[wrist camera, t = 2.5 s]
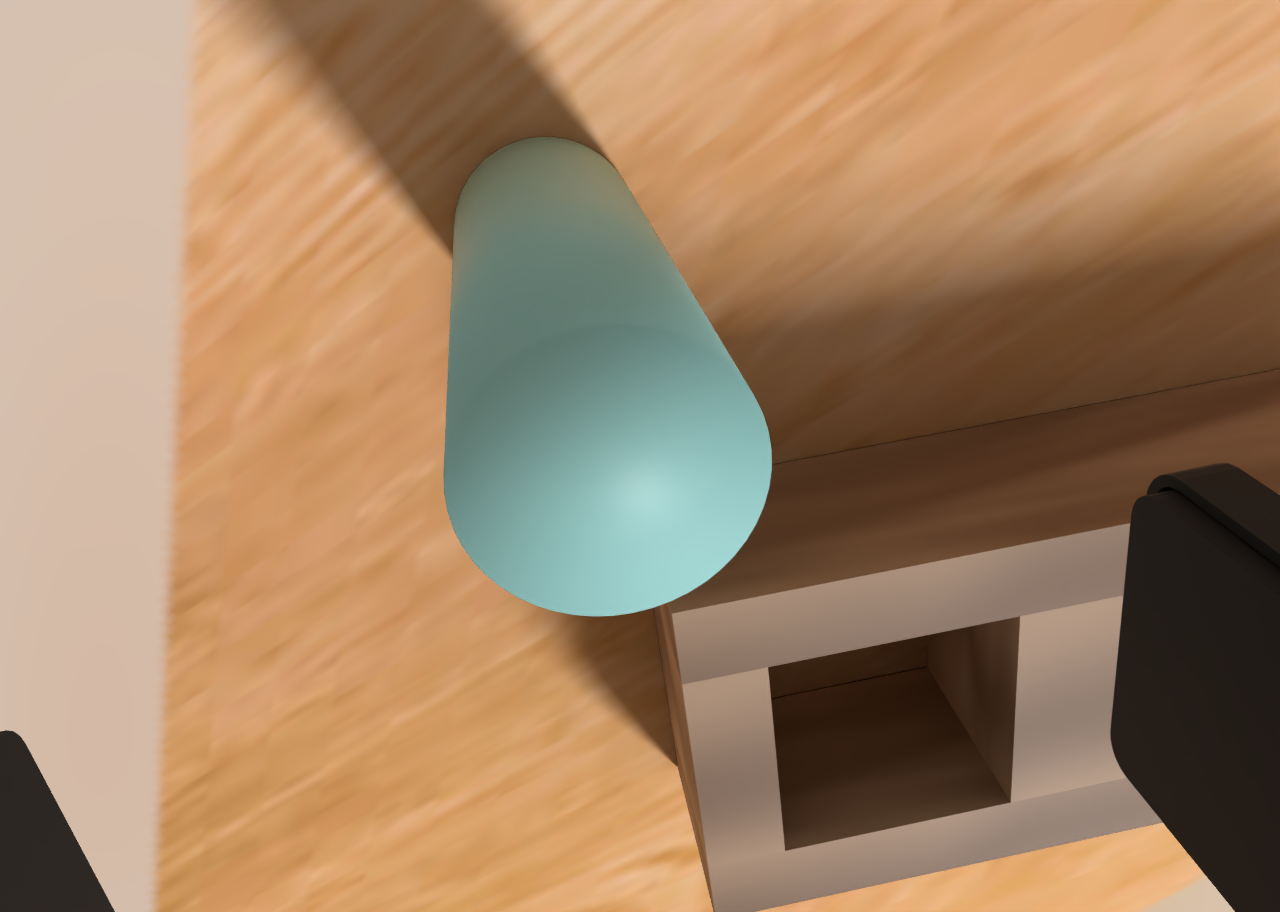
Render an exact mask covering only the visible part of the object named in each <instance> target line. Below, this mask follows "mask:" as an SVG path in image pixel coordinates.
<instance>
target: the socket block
mask: <svg viewBox="0 0 1280 912" xmlns="http://www.w3.org/2000/svg"><path fill="white" fill-rule="evenodd" d="M1217 463H1229V464H1231V465H1234V466H1236V467H1238V468H1240V469H1241V470H1243V471H1244V472H1246V473H1247V474H1249V475H1250V476H1252V477H1253V478H1255V479H1256V480H1258V481H1259V482H1261V483H1262V484H1264V485H1265V486H1267V487H1268V488H1270V489H1271V490H1273V491H1274V492H1276V493H1277V494H1279V495H1280V369H1279V370H1273V371H1268V372H1263V373H1257V374H1252V375H1247V376H1241V377H1236V378H1231V379H1226V380H1220V381H1215V382H1210V383H1204V384H1199V385H1194V386H1188V387H1183V388H1178V389H1172V390H1167V391H1162V392H1157V393H1151V394H1146V395H1141V396H1135V397H1130V398H1125V399H1119V400H1114V401H1109V402H1103V403H1098V404H1093V405H1088V406H1082V407H1077V408H1072V409H1066V410H1061V411H1056V412H1050V413H1045V414H1040V415H1035V416H1029V417H1024V418H1019V419H1013V420H1008V421H1003V422H997V423H992V424H987V425H981V426H976V427H971V428H966V429H960V430H955V431H950V432H944V433H939V434H934V435H928V436H923V437H918V438H913V439H907V440H902V441H897V442H891V443H886V444H881V445H875V446H870V447H865V448H859V449H854V450H849V451H844V452H838V453H833V454H828V455H822V456H817V457H812V458H806V459H801V460H796V461H790V462H785V463H780V464H775V465H772V471H771V479H770V486H769V490H768V494H767V498H766V501H765V505H764V507H763V510H762V512H761V514H760V517H759V519H758V521H757V524H756V525H755V527H754V529H753V530H752V532H751V534H750V535H749V537H748V539H747V540H746V542H745V543H744V544H743V546H742V547H741V548H740V549H739V551H738V552H737V553H736V555H735V556H734V557H733V558H732V559H731V560H730V561H729V562H728V563H727V564H726V565H725V566H724V567H723V568H722V569H721V570H720V571H718V572H717V573H716V574H715V575H713V576H712V577H711V578H710V579H709V580H707V581H706V582H704V583H703V584H701V585H700V586H698V587H697V588H695V589H694V590H692V591H690V592H689V593H687V594H685V595H683V596H681V597H679V598H677V599H675V600H673V601H670V602H668V603H665V604H662V605H659V606H657V607H654V615H655V621H656V628H657V634H658V641H659V647H660V654H661V660H662V667H663V673H664V680H665V686H666V693H667V699H668V706H669V712H670V719H671V725H672V732H673V738H674V745H675V751H676V758H677V764H678V770H679V774H680V778H681V782H682V786H683V790H684V794H685V798H686V802H687V806H688V810H689V814H690V818H691V822H692V826H693V830H694V834H695V838H696V842H697V846H698V850H699V854H700V858H701V862H702V866H703V870H704V874H705V878H706V882H707V886H708V890H709V894H710V898H711V902H712V907H713V911H714V912H756V911H760V910H765V909H769V908H774V907H779V906H783V905H788V904H792V903H797V902H801V901H806V900H811V899H815V898H820V897H824V896H829V895H833V894H838V893H843V892H847V891H852V890H856V889H861V888H865V887H870V886H875V885H879V884H884V883H888V882H893V881H898V880H902V879H907V878H911V877H916V876H920V875H925V874H930V873H934V872H939V871H943V870H948V869H952V868H957V867H962V866H966V865H971V864H975V863H980V862H984V861H989V860H994V859H998V858H1003V857H1007V856H1012V855H1017V854H1021V853H1026V852H1030V851H1035V850H1039V849H1044V848H1049V847H1053V846H1058V845H1062V844H1067V843H1071V842H1076V841H1081V840H1085V839H1090V838H1094V837H1099V836H1103V835H1108V834H1113V833H1117V832H1122V831H1126V830H1131V829H1136V828H1140V827H1145V826H1149V825H1154V824H1158V823H1163V822H1162V821H1161V819H1160V818H1159V817H1158V816H1157V814H1156V813H1155V812H1154V811H1153V809H1152V808H1151V807H1150V806H1149V805H1148V803H1147V802H1146V801H1145V800H1144V798H1143V797H1142V796H1141V795H1140V793H1139V792H1138V791H1137V790H1136V788H1135V787H1134V786H1133V785H1132V784H1131V782H1130V781H1129V780H1128V779H1127V777H1126V776H1125V775H1124V773H1123V772H1122V770H1121V769H1120V767H1119V764H1118V762H1117V760H1116V758H1115V755H1114V752H1113V749H1112V744H1111V739H1110V728H1111V718H1112V708H1113V697H1114V687H1115V677H1116V666H1117V656H1118V646H1119V635H1120V625H1121V614H1122V604H1123V594H1124V583H1125V573H1126V563H1127V552H1128V542H1129V532H1130V521H1131V513H1132V508H1133V505H1134V503H1135V502H1136V500H1137V499H1138V498H1140V497H1142V496H1145V495H1146V494H1147V490H1148V487H1149V486H1150V484H1151V482H1152V481H1153V479H1155V478H1157V477H1158V476H1160V475H1163V474H1168V473H1173V472H1178V471H1183V470H1188V469H1192V468H1197V467H1202V466H1207V465H1212V464H1217ZM925 635H927V667H926V668H921V669H917V670H912V671H907V672H902V673H897V674H892V675H887V676H882V677H877V678H872V679H868V680H863V681H858V682H853V683H848V684H843V685H838V686H833V687H828V688H824V689H819V690H814V691H809V692H804V693H799V694H794V695H789V696H784V697H779V698H775V699H771V694H770V683H769V672H768V667H772V666H777V665H782V664H787V663H792V662H797V661H802V660H806V659H811V658H816V657H821V656H826V655H831V654H836V653H841V652H846V651H851V650H856V649H861V648H866V647H871V646H876V645H881V644H886V643H891V642H896V641H900V640H905V639H910V638H915V637H920V636H925Z"/></svg>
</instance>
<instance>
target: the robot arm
mask: <svg viewBox="0 0 1280 912" xmlns="http://www.w3.org/2000/svg"><path fill="white" fill-rule="evenodd" d="M1110 739H1111V744H1112V749H1113V752H1114V755H1115V758H1116V760H1117V762H1118V764H1119V767H1120V769H1121V770H1122V772H1123V773H1124V775H1125V776H1126V777H1127V779H1128V780H1129V781H1130V782H1131V784H1132V785H1133V786H1134V787H1135V788H1136V790H1137V791H1138V792H1139V793H1140V795H1141V796H1142V797H1143V798H1144V800H1145V801H1146V802H1147V803H1148V805H1149V806H1150V807H1151V808H1152V809H1153V811H1154V812H1155V813H1156V814H1157V816H1158V817H1159V818H1160V819H1161V821H1162V822H1163V823H1164V824H1165V826H1166V827H1167V828H1168V829H1169V830H1170V832H1171V833H1172V834H1173V835H1174V837H1175V838H1176V839H1177V840H1178V842H1179V843H1180V844H1181V845H1182V847H1183V848H1184V849H1185V850H1186V851H1187V853H1188V854H1189V855H1190V856H1191V858H1192V859H1193V860H1194V861H1195V863H1196V864H1197V865H1198V866H1199V868H1200V869H1201V870H1202V871H1203V872H1204V874H1205V875H1206V876H1207V877H1208V879H1209V880H1210V881H1211V882H1212V884H1213V885H1214V886H1215V887H1216V889H1217V890H1218V891H1219V892H1220V893H1221V895H1222V896H1223V897H1224V898H1225V900H1226V901H1227V902H1228V903H1229V905H1230V906H1231V907H1232V908H1233V910H1234V911H1235V912H1280V495H1279V494H1277V493H1276V492H1274V491H1273V490H1271V489H1270V488H1268V487H1267V486H1265V485H1264V484H1262V483H1261V482H1259V481H1258V480H1256V479H1255V478H1253V477H1252V476H1250V475H1249V474H1247V473H1246V472H1244V471H1243V470H1241V469H1240V468H1238V467H1236V466H1234V465H1231V464H1229V463H1217V464H1212V465H1207V466H1202V467H1197V468H1192V469H1188V470H1183V471H1178V472H1173V473H1168V474H1163V475H1160V476H1158V477H1157V478H1155V479H1153V481H1152V482H1151V484H1150V486H1149V487H1148V490H1147V494H1146V495H1145V496H1142V497H1140V498H1138V499H1137V500H1136V502H1135V503H1134V505H1133V508H1132V513H1131V521H1130V532H1129V542H1128V552H1127V563H1126V573H1125V583H1124V594H1123V604H1122V614H1121V625H1120V635H1119V646H1118V656H1117V666H1116V677H1115V687H1114V697H1113V708H1112V718H1111V728H1110ZM0 912H115V911H114V909H113V908H112V906H111V904H110V902H109V900H108V898H107V896H106V894H105V893H104V891H103V889H102V887H101V885H100V883H99V881H98V879H97V877H96V876H95V874H94V872H93V870H92V868H91V866H90V864H89V862H88V860H87V859H86V857H85V855H84V853H83V851H82V849H81V847H80V845H79V844H78V842H77V840H76V838H75V836H74V834H73V832H72V830H71V828H70V827H69V825H68V823H67V821H66V819H65V817H64V815H63V813H62V812H61V810H60V808H59V806H58V804H57V802H56V800H55V798H54V796H53V795H52V793H51V791H50V789H49V787H48V785H47V783H46V781H45V780H44V778H43V776H42V774H41V772H40V770H39V768H38V766H37V765H36V763H35V761H34V759H33V757H32V755H31V753H30V751H29V749H28V747H27V746H26V744H25V742H24V741H23V740H22V738H21V737H20V736H19V735H18V734H16V733H15V732H13V731H7V730H6V731H1V732H0Z"/></svg>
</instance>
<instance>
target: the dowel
mask: <svg viewBox="0 0 1280 912" xmlns="http://www.w3.org/2000/svg"><path fill="white" fill-rule="evenodd" d="M771 471H772V449H771V443H770V436H769V431H768V428H767V425H766V421H765V418H764V415H763V412H762V410H761V408H760V406H759V404H758V402H757V400H756V398H755V396H754V394H753V393H752V391H751V389H750V388H749V386H748V384H747V383H746V381H745V380H744V378H743V376H742V375H741V373H740V371H739V370H738V368H737V366H736V365H735V363H734V361H733V360H732V358H731V356H730V355H729V353H728V351H727V350H726V348H725V346H724V345H723V343H722V341H721V340H720V338H719V337H718V335H717V333H716V332H715V330H714V328H713V327H712V325H711V323H710V322H709V320H708V318H707V317H706V315H705V313H704V312H703V310H702V308H701V307H700V305H699V303H698V302H697V300H696V299H695V297H694V295H693V294H692V292H691V290H690V289H689V287H688V285H687V284H686V282H685V280H684V279H683V277H682V275H681V274H680V272H679V270H678V269H677V267H676V265H675V264H674V262H673V260H672V259H671V257H670V256H669V254H668V252H667V251H666V249H665V247H664V246H663V244H662V242H661V241H660V239H659V237H658V236H657V234H656V232H655V231H654V229H653V227H652V226H651V224H650V222H649V221H648V219H647V218H646V216H645V214H644V213H643V211H642V209H641V208H640V206H639V204H638V203H637V201H636V199H635V198H634V196H633V194H632V193H631V191H630V189H629V188H628V186H627V184H626V183H625V181H624V180H623V178H622V177H621V175H620V174H619V172H618V171H617V170H616V169H615V168H614V167H613V166H612V164H611V163H610V162H608V161H607V160H606V159H605V158H604V157H603V156H601V155H600V154H598V153H597V152H595V151H594V150H592V149H591V148H589V147H587V146H585V145H582V144H580V143H578V142H574V141H571V140H568V139H563V138H557V137H535V138H528V139H524V140H519V141H516V142H514V143H511V144H509V145H506V146H504V147H503V148H501V149H499V150H497V151H495V152H494V153H493V154H491V155H490V156H489V157H487V158H486V159H485V160H484V161H483V162H482V163H481V164H480V165H479V166H478V167H477V168H476V169H475V170H474V172H473V173H472V174H471V175H470V177H469V178H468V180H467V182H466V184H465V185H464V187H463V189H462V192H461V194H460V197H459V199H458V203H457V207H456V211H455V220H454V238H453V262H452V286H451V310H450V334H449V358H448V381H447V405H446V429H445V453H444V494H445V500H446V506H447V511H448V514H449V517H450V520H451V523H452V526H453V529H454V531H455V533H456V535H457V537H458V539H459V541H460V543H461V545H462V547H463V548H464V549H465V551H466V552H467V554H468V555H469V556H470V558H471V559H472V561H473V562H474V563H475V564H476V565H477V566H478V567H479V568H480V569H481V570H482V571H483V572H484V574H485V575H486V576H488V577H489V578H490V579H491V580H493V581H494V582H495V583H496V584H498V585H499V586H500V587H501V588H503V589H505V590H506V591H508V592H510V593H511V594H513V595H515V596H516V597H518V598H520V599H522V600H525V601H527V602H529V603H531V604H533V605H536V606H539V607H542V608H545V609H549V610H552V611H556V612H561V613H566V614H571V615H582V616H615V615H622V614H629V613H635V612H639V611H643V610H647V609H651V608H654V607H657V606H659V605H662V604H665V603H668V602H670V601H673V600H675V599H677V598H679V597H681V596H683V595H685V594H687V593H689V592H690V591H692V590H694V589H695V588H697V587H698V586H700V585H701V584H703V583H704V582H706V581H707V580H709V579H710V578H711V577H712V576H713V575H715V574H716V573H717V572H718V571H720V570H721V569H722V568H723V567H724V566H725V565H726V564H727V563H728V562H729V561H730V560H731V559H732V558H733V557H734V556H735V555H736V553H737V552H738V551H739V549H740V548H741V547H742V546H743V544H744V543H745V542H746V540H747V539H748V537H749V535H750V534H751V532H752V530H753V529H754V527H755V525H756V524H757V521H758V519H759V517H760V514H761V512H762V510H763V507H764V505H765V501H766V498H767V494H768V490H769V486H770V479H771Z"/></svg>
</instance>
